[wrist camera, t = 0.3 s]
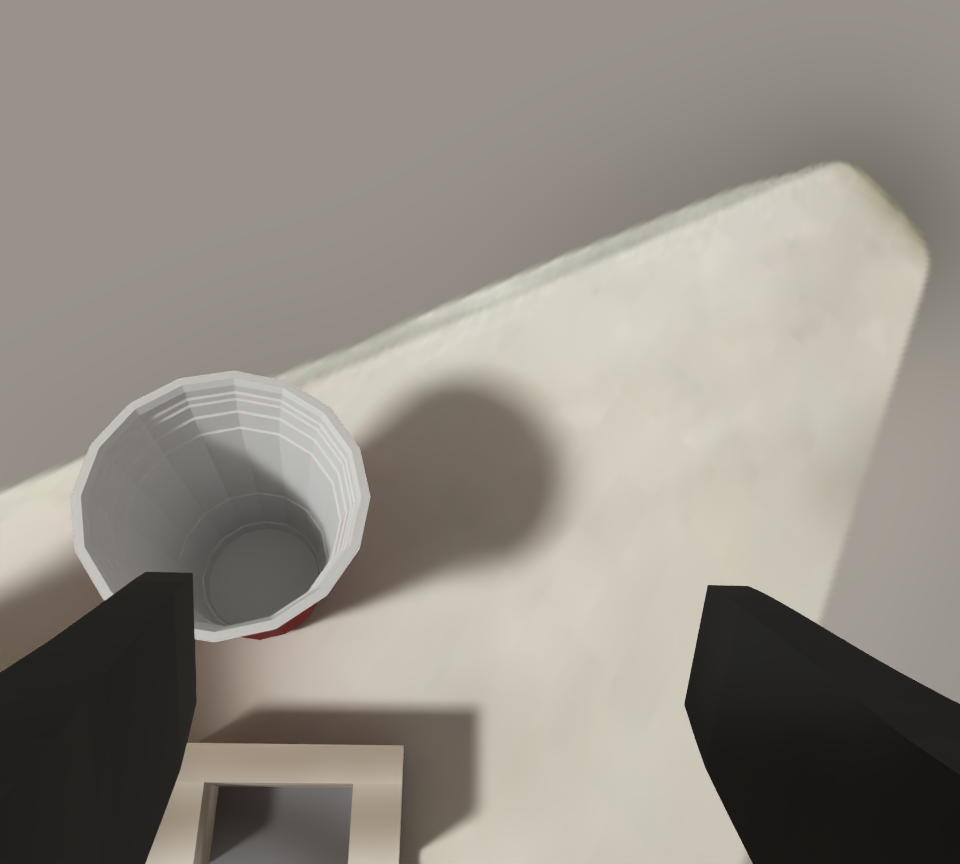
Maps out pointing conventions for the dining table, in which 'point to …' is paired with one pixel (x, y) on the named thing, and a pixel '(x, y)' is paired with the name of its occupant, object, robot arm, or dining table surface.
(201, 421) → the plastic cup
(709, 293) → the dining table surface
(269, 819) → the cradle
